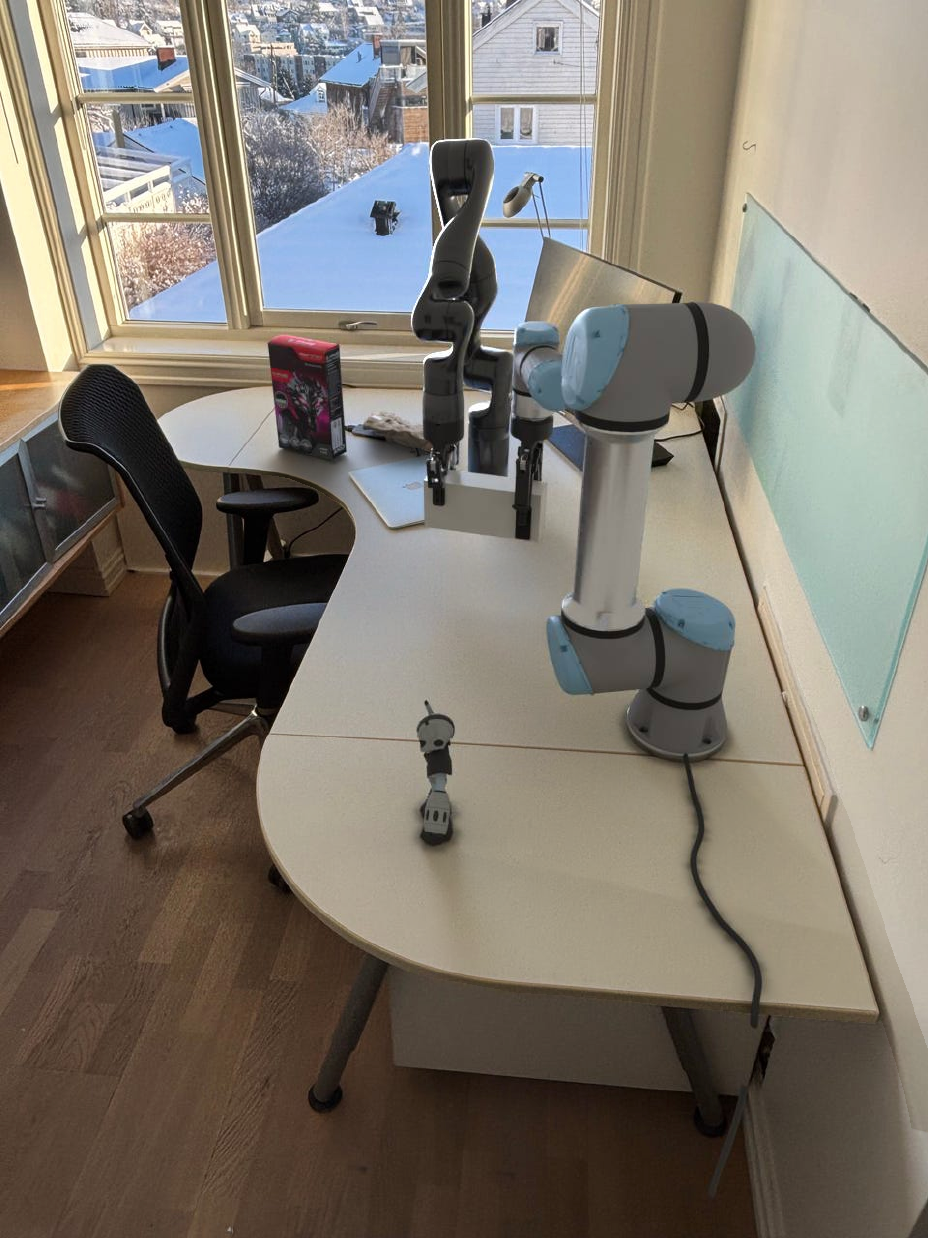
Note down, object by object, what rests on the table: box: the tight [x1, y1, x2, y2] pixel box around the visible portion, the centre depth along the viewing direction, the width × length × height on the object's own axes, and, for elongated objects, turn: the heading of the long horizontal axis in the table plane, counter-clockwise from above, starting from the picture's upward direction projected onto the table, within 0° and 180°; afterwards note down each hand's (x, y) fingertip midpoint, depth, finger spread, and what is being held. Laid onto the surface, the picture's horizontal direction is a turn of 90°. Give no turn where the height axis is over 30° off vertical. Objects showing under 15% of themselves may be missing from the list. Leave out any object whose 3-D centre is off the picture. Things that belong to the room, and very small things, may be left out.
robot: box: [415, 699, 456, 846], centre depth 121 cm, size 20×5×20 cm, turn 3°
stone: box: [362, 411, 433, 453], centre depth 234 cm, size 21×15×6 cm
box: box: [423, 469, 548, 543], centre depth 174 cm, size 22×6×10 cm, turn 75°
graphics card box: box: [267, 333, 348, 461], centre depth 223 cm, size 17×7×27 cm, turn 62°
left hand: (443, 497), depth 175 cm, fingers closed on box, 6 cm apart
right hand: (526, 530), depth 174 cm, fingers closed on box, 6 cm apart
